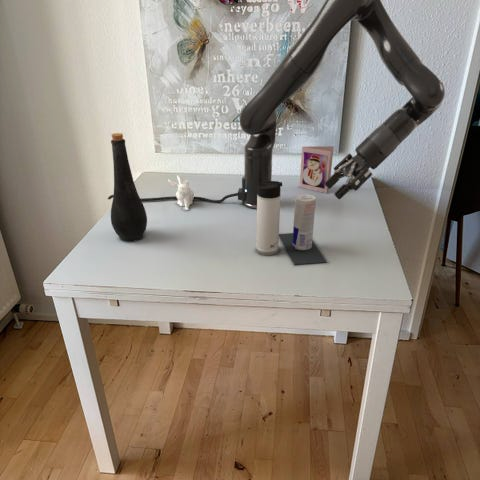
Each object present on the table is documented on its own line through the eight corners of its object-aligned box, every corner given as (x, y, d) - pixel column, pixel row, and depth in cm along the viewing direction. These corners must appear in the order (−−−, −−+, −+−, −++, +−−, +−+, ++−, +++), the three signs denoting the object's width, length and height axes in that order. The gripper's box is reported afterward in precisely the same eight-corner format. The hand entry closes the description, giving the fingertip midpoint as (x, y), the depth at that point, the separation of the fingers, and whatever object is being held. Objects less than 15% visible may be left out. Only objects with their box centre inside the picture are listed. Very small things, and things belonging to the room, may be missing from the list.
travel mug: (277, 256, 137) (280, 187, 126) (254, 254, 138) (255, 185, 127) (280, 247, 142) (283, 179, 131) (258, 245, 143) (259, 178, 132)
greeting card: (298, 187, 185) (301, 147, 176) (307, 182, 190) (310, 142, 181) (325, 193, 179) (329, 152, 171) (334, 188, 184) (338, 147, 176)
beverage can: (314, 245, 143) (318, 195, 134) (308, 252, 139) (312, 202, 130) (296, 241, 145) (299, 192, 136) (289, 249, 141) (292, 199, 132)
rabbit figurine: (188, 210, 166) (186, 183, 160) (166, 209, 167) (164, 181, 162) (197, 198, 176) (195, 171, 170) (176, 197, 177) (174, 170, 171)
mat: (278, 235, 149) (278, 234, 149) (306, 233, 151) (307, 232, 150) (294, 265, 133) (294, 264, 133) (326, 262, 134) (326, 261, 134)
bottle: (155, 232, 151) (143, 131, 135) (138, 246, 143) (124, 140, 126) (125, 227, 154) (110, 128, 137) (107, 241, 146) (89, 137, 129)
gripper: (359, 130, 132) (315, 174, 137) (380, 143, 121) (331, 191, 126) (375, 149, 136) (331, 191, 141) (396, 164, 124) (348, 209, 129)
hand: (331, 191), depth 133 cm, fingers open, 8 cm apart
